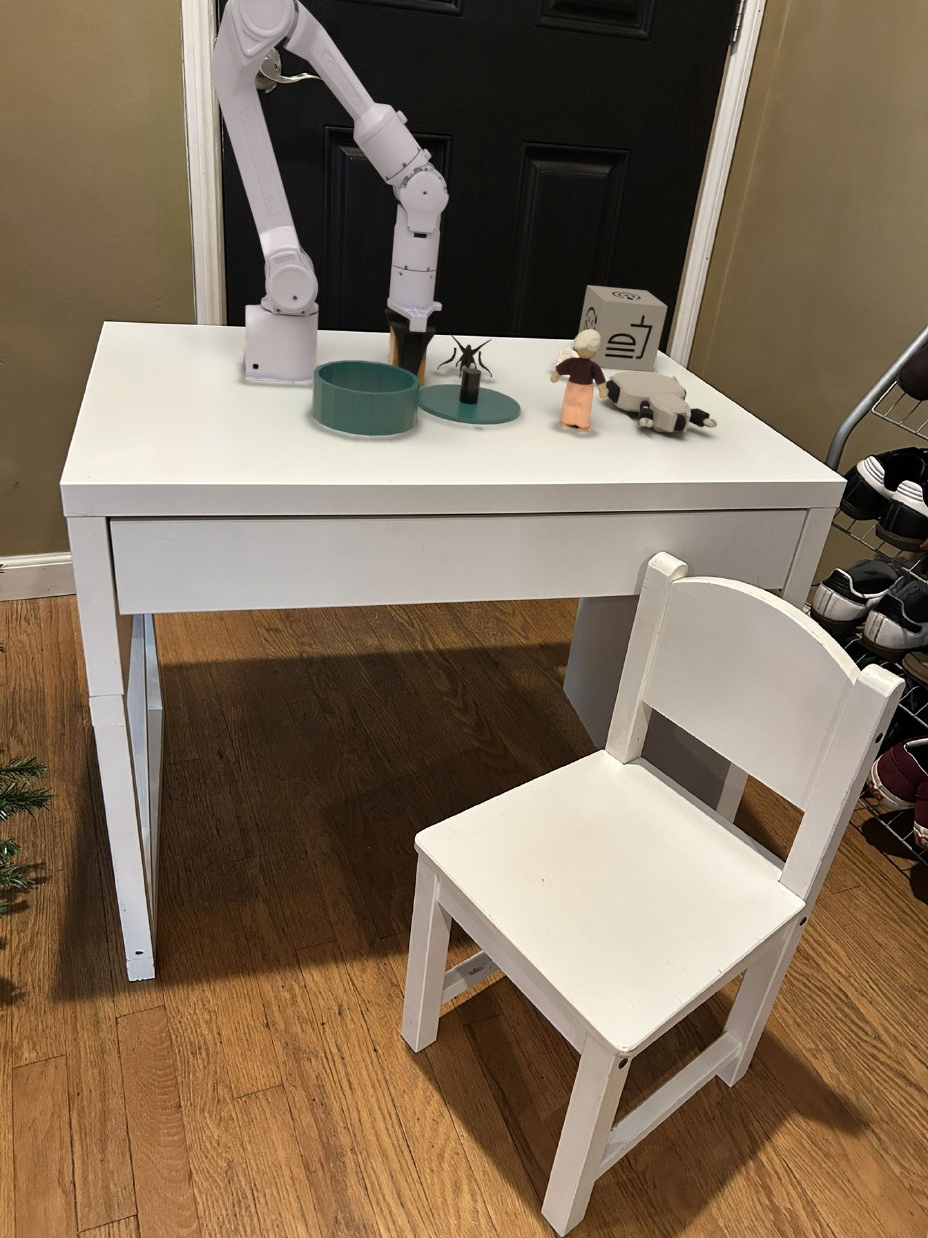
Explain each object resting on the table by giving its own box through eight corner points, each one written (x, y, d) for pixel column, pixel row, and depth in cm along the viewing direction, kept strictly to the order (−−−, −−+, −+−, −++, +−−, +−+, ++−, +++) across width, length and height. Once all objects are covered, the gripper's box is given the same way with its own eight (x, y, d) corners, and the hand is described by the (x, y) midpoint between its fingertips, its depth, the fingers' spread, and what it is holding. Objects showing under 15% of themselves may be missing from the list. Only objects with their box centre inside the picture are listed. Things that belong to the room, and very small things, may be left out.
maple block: (390, 387, 126) (394, 334, 123) (386, 376, 130) (390, 325, 126) (423, 388, 127) (428, 336, 124) (418, 378, 131) (423, 327, 127)
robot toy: (717, 446, 124) (665, 399, 135) (727, 414, 121) (674, 368, 133) (634, 446, 120) (588, 397, 131) (643, 413, 117) (595, 366, 129)
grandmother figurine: (603, 431, 121) (623, 332, 115) (597, 440, 118) (617, 338, 111) (545, 418, 123) (562, 319, 116) (538, 427, 120) (555, 326, 113)
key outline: (541, 357, 147) (543, 346, 147) (571, 359, 149) (573, 348, 148) (564, 384, 137) (566, 372, 136) (597, 386, 138) (599, 374, 137)
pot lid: (423, 426, 115) (427, 385, 112) (408, 389, 126) (411, 351, 124) (530, 430, 118) (537, 391, 115) (506, 394, 129) (511, 357, 127)
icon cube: (652, 371, 148) (667, 306, 143) (592, 366, 146) (604, 300, 141) (633, 352, 157) (646, 290, 151) (575, 347, 155) (587, 285, 149)
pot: (315, 437, 107) (317, 390, 105) (309, 400, 118) (311, 356, 115) (422, 442, 110) (427, 396, 107) (407, 405, 121) (411, 363, 118)
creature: (489, 393, 132) (494, 365, 138) (493, 358, 129) (498, 331, 134) (433, 385, 132) (441, 357, 138) (436, 350, 129) (444, 323, 134)
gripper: (454, 282, 115) (443, 390, 122) (435, 256, 127) (425, 356, 134) (397, 277, 114) (389, 387, 121) (383, 252, 126) (376, 353, 133)
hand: (404, 371), depth 128 cm, fingers open, 5 cm apart
